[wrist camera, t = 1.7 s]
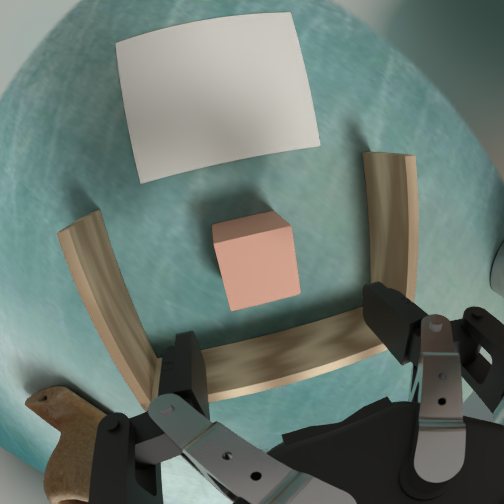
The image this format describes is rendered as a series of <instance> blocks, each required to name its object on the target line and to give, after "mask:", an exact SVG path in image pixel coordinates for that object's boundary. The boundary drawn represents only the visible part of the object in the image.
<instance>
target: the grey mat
mask: <svg viewBox="0 0 504 504" xmlns="http://www.w3.org/2000/svg"><path fill="white" fill-rule="evenodd" d="M115 45H116V54H117V62H118V69H119V77H120V83H121V90H122V96H123V102H124V108H125V114H126V119H127V124H128V129H129V134H130V139H131V144H132V149H133V153H134V158H135V162H136V167H137V171H138V175H139V179H140V183H141V184H142V183H146V182H149V181H153V180H156V179H160V178H164V177H167V176H171V175H175V174H179V173H183V172H187V171H191V170H195V169H199V168H203V167H208V166H212V165H217V164H221V163H226V162H230V161H235V160H240V159H245V158H250V157H255V156H261V155H266V154H272V153H278V152H284V151H290V150H296V149H303V148H310V147H317V146H320V140H319V135H318V129H317V123H316V118H315V113H314V108H313V103H312V98H311V93H310V88H309V83H308V79H307V74H306V70H305V66H304V62H303V57H302V53H301V49H300V45H299V41H298V38H297V34H296V30H295V27H294V23H293V19H292V16H291V12H284V13H260V14H247V15H237V16H228V17H220V18H213V19H207V20H201V21H196V22H191V23H186V24H181V25H176V26H172V27H168V28H164V29H160V30H156V31H152V32H149V33H145V34H142V35H139V36H135V37H132V38H129V39H126V40H123V41H120V42H117V43H115Z"/></svg>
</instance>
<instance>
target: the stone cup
mask: <svg viewBox="0 0 504 504" xmlns="http://www.w3.org/2000/svg"><path fill="white" fill-rule="evenodd" d="M25 405H26V406H27V407H28V408H29V409H31V410H32V411H33V412H35V413H36V414H37V415H38V416H40V417H41V418H42V419H44V420H45V421H46V422H47V423H49V424H50V425H51V426H53V427H54V428H56V429H57V430H58V431H60V432H61V436H60V440H59V442H58V444H57V446H56V448H55V449H54V451H53V453H52V455H51V457H50V459H49V461H48V463H47V466H46V469H45V474H44V490H45V493H46V495H47V498H48V500H49V502H50V503H51V504H88V501H89V488H90V478H91V469H92V461H93V453H94V446H95V440H96V434H97V428H98V424H99V422H100V421H101V420H102V418H104V417H105V416H106V415H107V414H105V413H104V412H102V411H101V410H99V409H98V408H96V407H95V406H93V405H92V404H90V403H88V402H87V401H86V400H84V399H83V398H81V397H80V396H78V395H77V394H75V393H74V392H73V391H71V390H70V389H68V388H67V387H61V386H54V387H49V388H48V389H43V390H41V391H38V392H37V393H35V394H33V395H32V396H31V397H30V398H28V399H27V400H26V402H25Z"/></svg>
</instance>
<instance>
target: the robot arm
mask: <svg viewBox="0 0 504 504" xmlns="http://www.w3.org/2000/svg"><path fill="white" fill-rule="evenodd" d="M491 288H492V290H493V291H494V292H496V293H497V294H499V295H500V296H502V297H503V298H504V242H503V244H502V245H501V247H500V249H499V251H498V253H497V255H496V258H495V261H494V264H493V267H492V272H491ZM363 318H364V321H365V323H366V324H367V326H368V327H369V328H370V329H371V330H372V331H373V333H374V334H375V335H376V336H377V337H378V338H379V339H380V341H381V342H382V343H383V344H384V345H385V346H386V347H387V349H388V350H389V351H390V352H391V353H392V354H393V356H394V357H395V358H396V359H397V360H398V361H399V363H400V364H401V365H404V364H406V363H409V362H412V363H413V365H412V371H411V381H410V391H409V399H408V402H407V401H402V402H393V403H391V401H390V400H389V398H388V397H385V398H383V399H381V400H378V401H376V402H374V403H371V404H369V405H367V406H364V407H363V408H361V409H360V410H358V411H357V412H355V413H354V414H353V415H351V416H350V417H348V418H347V419H345V420H344V421H342V422H339V423H334V424H327V425H319V426H310V427H307V428H303V429H300V430H297V431H293V432H290V433H286V434H283V435H282V438H283V442H282V443H281V444H279V445H277V446H275V447H274V448H272V449H271V450H270V451H269V452H267V453H264V452H263V451H261V450H260V449H258V448H256V447H255V446H253V445H252V444H250V443H249V442H247V441H246V440H244V439H243V438H241V437H240V436H238V435H237V434H235V433H234V432H233V431H231V430H230V429H228V428H227V427H225V426H224V425H223V424H221V423H219V422H217V421H216V422H214V423H212V422H211V421H210V414H209V403H208V390H207V376H206V366H205V362H204V358H203V355H202V353H201V350H200V347H199V345H198V342H197V339H196V337H195V334H194V332H193V331H189V332H185V333H180V334H176V342H175V346H171V347H168V348H167V349H166V351H165V352H164V354H163V355H162V363H161V364H162V365H161V372H160V380H159V389H158V397H157V398H155V399H154V400H153V401H152V402H151V403H150V405H149V408H148V411H147V412H145V413H143V414H140V415H138V416H135V417H132V418H128V417H127V416H126V415H125V414H123V413H118V412H116V413H111V414H108V415H106V416H105V417H104V418H102V420H101V421H100V422H99V424H98V428H97V434H96V440H95V446H94V453H93V461H92V469H91V478H90V488H89V501H88V504H163V494H162V481H161V463H160V462H163V461H165V460H168V459H171V458H173V457H176V456H178V455H180V456H181V457H182V458H183V459H184V460H185V461H186V462H188V463H189V464H190V465H191V466H192V467H193V468H194V469H195V470H196V471H197V472H198V473H200V474H201V475H202V476H203V477H204V478H205V479H206V480H208V481H209V482H210V483H211V484H212V485H213V486H214V487H215V488H216V489H217V490H218V491H220V492H221V493H222V494H223V495H224V496H226V497H227V498H228V499H230V500H231V501H232V502H234V503H233V504H504V325H503V324H502V323H501V322H500V321H499V320H497V319H496V318H495V317H494V316H493V315H491V314H490V313H489V312H488V311H486V310H485V309H483V308H481V307H469V308H467V309H466V310H465V311H464V314H463V319H458V320H453V321H449V320H448V319H447V318H446V317H444V316H442V315H438V314H432V315H428V314H427V313H425V312H424V311H423V310H422V309H421V308H419V307H418V306H417V305H416V304H415V303H413V302H411V300H410V299H408V298H406V296H405V295H403V294H402V293H401V292H400V291H397V290H395V289H392V288H387V287H386V286H385V285H383V284H382V283H381V282H379V281H377V282H374V283H371V284H368V285H365V286H364V288H363ZM481 346H482V347H483V348H484V349H485V350H486V351H487V352H488V353H489V354H490V355H491V357H492V365H491V364H490V363H489V362H488V361H487V360H486V359H485V358H484V357H483V356H482V355H481V354H480V353H479V351H480V349H481ZM461 376H462V377H463V378H464V379H465V381H466V382H467V383H468V384H469V385H470V386H471V388H472V389H473V390H474V391H475V392H476V394H478V396H479V397H480V398H481V399H482V401H483V402H484V403H485V405H486V406H487V407H488V408H489V409H490V411H491V412H492V413H493V418H494V422H495V423H493V422H488V421H484V420H479V419H475V418H471V417H467V416H463V399H462V378H461Z"/></svg>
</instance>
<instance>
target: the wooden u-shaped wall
mask: <svg viewBox="0 0 504 504" xmlns="http://www.w3.org/2000/svg"><path fill="white" fill-rule="evenodd" d="M362 156H363V164H364V173H365V182H366V192H367V204H368V218H369V236H370V270H371V283H374V282H377V281H379V282H381V283H382V284H383V285H385V286H386V287H387V288H392V289H395V290H397V291H400V292H401V293H402V294H403V295H405V296H406V298H408V299H410V300H411V302H413V303H414V299H415V289H416V277H417V262H418V227H419V220H418V186H417V170H416V159H415V155H408V154H398V153H385V152H363V153H362ZM57 236H58V239H59V242H60V245H61V248H62V251H63V253H64V256H65V259H66V262H67V264H68V267H69V269H70V272H71V275H72V277H73V279H74V282H75V284H76V287H77V289H78V291H79V294H80V296H81V298H82V300H83V303H84V305H85V307H86V309H87V311H88V313H89V316H90V318H91V320H92V322H93V324H94V326H95V328H96V330H97V332H98V334H99V336H100V338H101V339H102V341H103V343H104V345H105V347H106V349H107V351H108V352H109V354H110V356H111V358H112V360H113V361H114V363H115V365H116V366H117V368H118V370H119V372H120V373H121V375H122V377H123V378H124V380H125V381H126V383H127V385H128V386H129V388H130V389H131V391H132V392H133V394H134V395H135V397H136V399H137V400H138V402H139V403H140V404H141V406H142V407H143V409H144V410H145V411H148V408H149V405H150V403H151V402H152V401H153V400H154V399H155V398H157V397H158V389H159V380H160V372H161V365H162V364H161V363H162V357H161V358H157V356H156V354H155V352H154V350H153V348H152V346H151V344H150V342H149V339H148V337H147V335H146V333H145V331H144V328H143V326H142V324H141V322H140V319H139V317H138V315H137V312H136V310H135V308H134V305H133V303H132V300H131V298H130V295H129V293H128V290H127V288H126V285H125V283H124V280H123V277H122V275H121V272H120V269H119V267H118V264H117V261H116V258H115V255H114V252H113V249H112V246H111V243H110V240H109V237H108V234H107V231H106V228H105V224H104V221H103V218H102V214H101V211H100V210H97V211H94V212H91V213H89V214H87V215H85V216H83V217H82V218H80V219H79V220H77V221H75V222H74V223H72V224H70V225H69V226H67V227H66V228H64V229H62V230H61V231H59V232H58V233H57ZM385 350H388V349H387V347H386V346H385V345H384V344H383V343H382V342H381V341H380V339H379V338H378V337H377V336H376V335H375V334H374V333H373V331H372V330H371V329H370V328H369V327H368V326H367V324H366V323H365V321H364V318H363V307H360V308H357V309H354V310H351V311H348V312H344V313H341V314H338V315H335V316H332V317H329V318H325V319H322V320H319V321H315V322H312V323H309V324H305V325H302V326H298V327H295V328H291V329H287V330H284V331H280V332H276V333H272V334H268V335H265V336H261V337H257V338H253V339H249V340H244V341H240V342H236V343H232V344H227V345H223V346H218V347H213V348H209V349H204V350H201V353H202V355H203V358H204V362H205V366H206V376H207V390H208V402H214V401H219V400H224V399H229V398H234V397H239V396H243V395H248V394H252V393H256V392H260V391H264V390H268V389H272V388H276V387H280V386H284V385H287V384H291V383H294V382H298V381H301V380H304V379H308V378H311V377H314V376H317V375H320V374H323V373H327V372H330V371H332V370H335V369H338V368H341V367H344V366H347V365H350V364H352V363H355V362H358V361H360V360H363V359H365V358H368V357H371V356H373V355H376V354H378V353H381V352H383V351H385Z"/></svg>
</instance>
